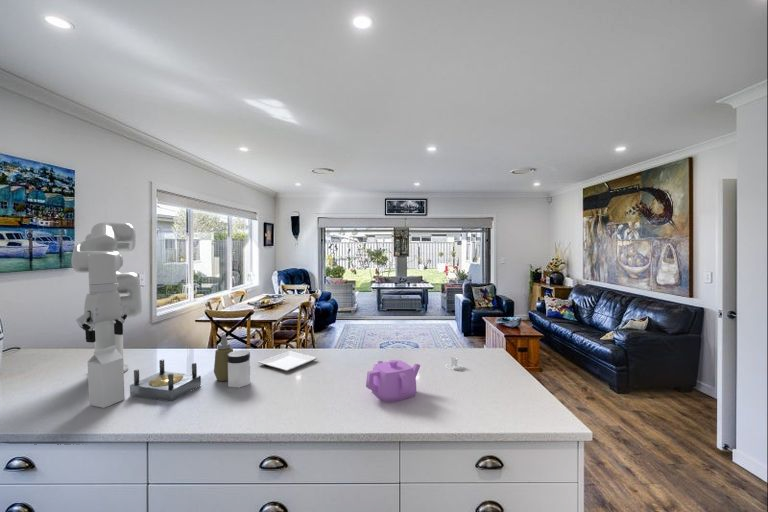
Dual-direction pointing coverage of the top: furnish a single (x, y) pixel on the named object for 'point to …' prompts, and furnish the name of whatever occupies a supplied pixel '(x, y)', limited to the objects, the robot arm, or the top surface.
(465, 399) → the top surface
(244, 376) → the jar
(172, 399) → the grey pegged base
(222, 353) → the squeeze bottle
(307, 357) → the plate
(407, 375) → the teakettle
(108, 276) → the robot arm
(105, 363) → the milk carton
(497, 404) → the top surface
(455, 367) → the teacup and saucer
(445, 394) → the top surface
